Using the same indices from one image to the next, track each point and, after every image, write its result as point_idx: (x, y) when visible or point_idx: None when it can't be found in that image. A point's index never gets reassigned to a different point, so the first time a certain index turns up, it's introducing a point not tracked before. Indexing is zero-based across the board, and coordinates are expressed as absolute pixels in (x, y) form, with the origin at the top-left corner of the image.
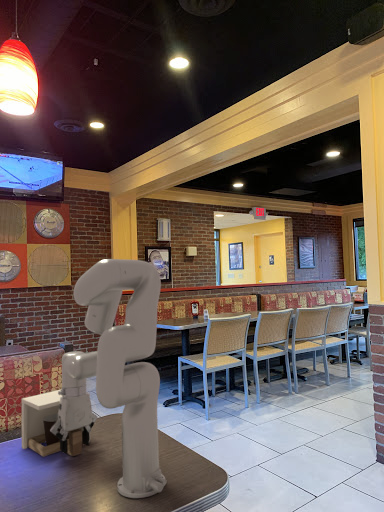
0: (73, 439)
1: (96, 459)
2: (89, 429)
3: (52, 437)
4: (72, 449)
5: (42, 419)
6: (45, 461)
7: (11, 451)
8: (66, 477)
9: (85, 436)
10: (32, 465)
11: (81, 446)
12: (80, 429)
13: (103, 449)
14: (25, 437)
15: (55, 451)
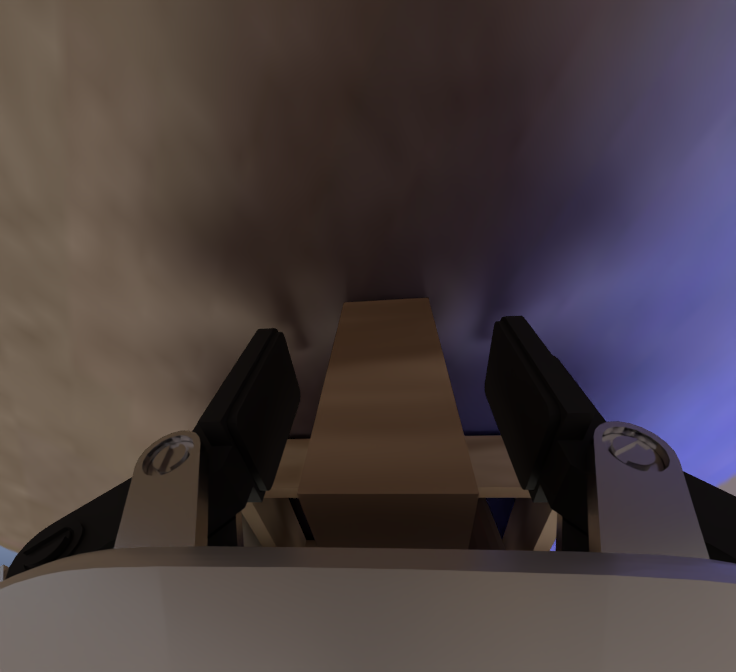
0: (445, 402)
1: (263, 58)
2: (160, 466)
3: None
4: (435, 336)
5: None
6: (583, 380)
7: None
8: None
9: (259, 409)
10: (673, 386)
11: (338, 333)
12: (249, 542)
13: (153, 254)
14: None
15: (469, 441)
